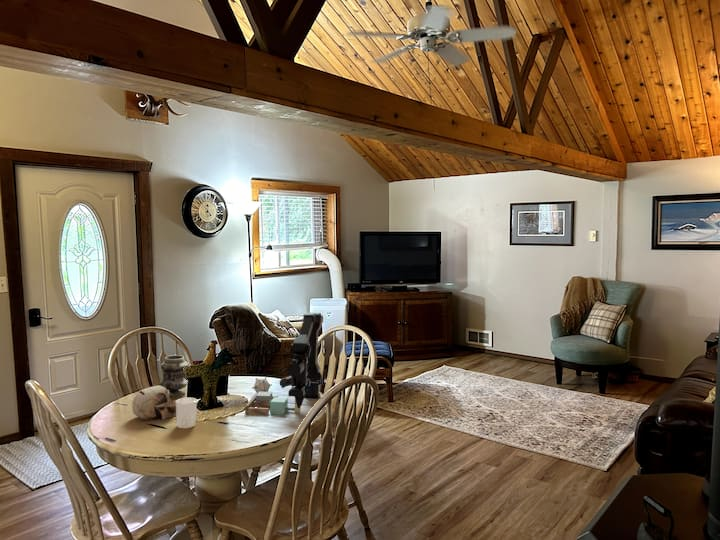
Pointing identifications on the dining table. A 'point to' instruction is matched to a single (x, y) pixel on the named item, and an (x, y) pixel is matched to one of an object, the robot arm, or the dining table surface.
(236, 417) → the dining table surface
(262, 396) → the slate block
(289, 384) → the robot arm
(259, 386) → the grey spiky lump
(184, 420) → the white cup
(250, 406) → the shelf
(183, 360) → the apothecary jar
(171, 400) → the skull
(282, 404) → the teal cube mallet
